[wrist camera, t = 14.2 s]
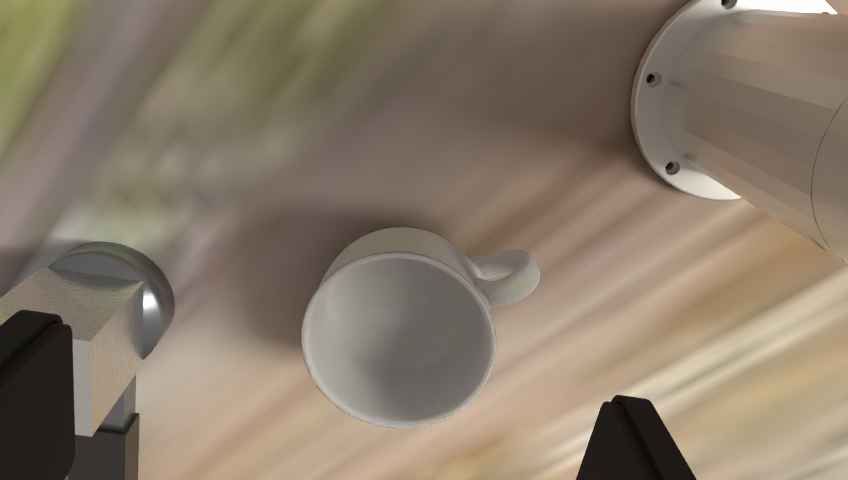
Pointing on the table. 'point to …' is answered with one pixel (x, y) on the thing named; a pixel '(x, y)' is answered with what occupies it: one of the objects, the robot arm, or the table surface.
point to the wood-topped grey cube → (89, 332)
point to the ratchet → (119, 432)
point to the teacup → (408, 325)
